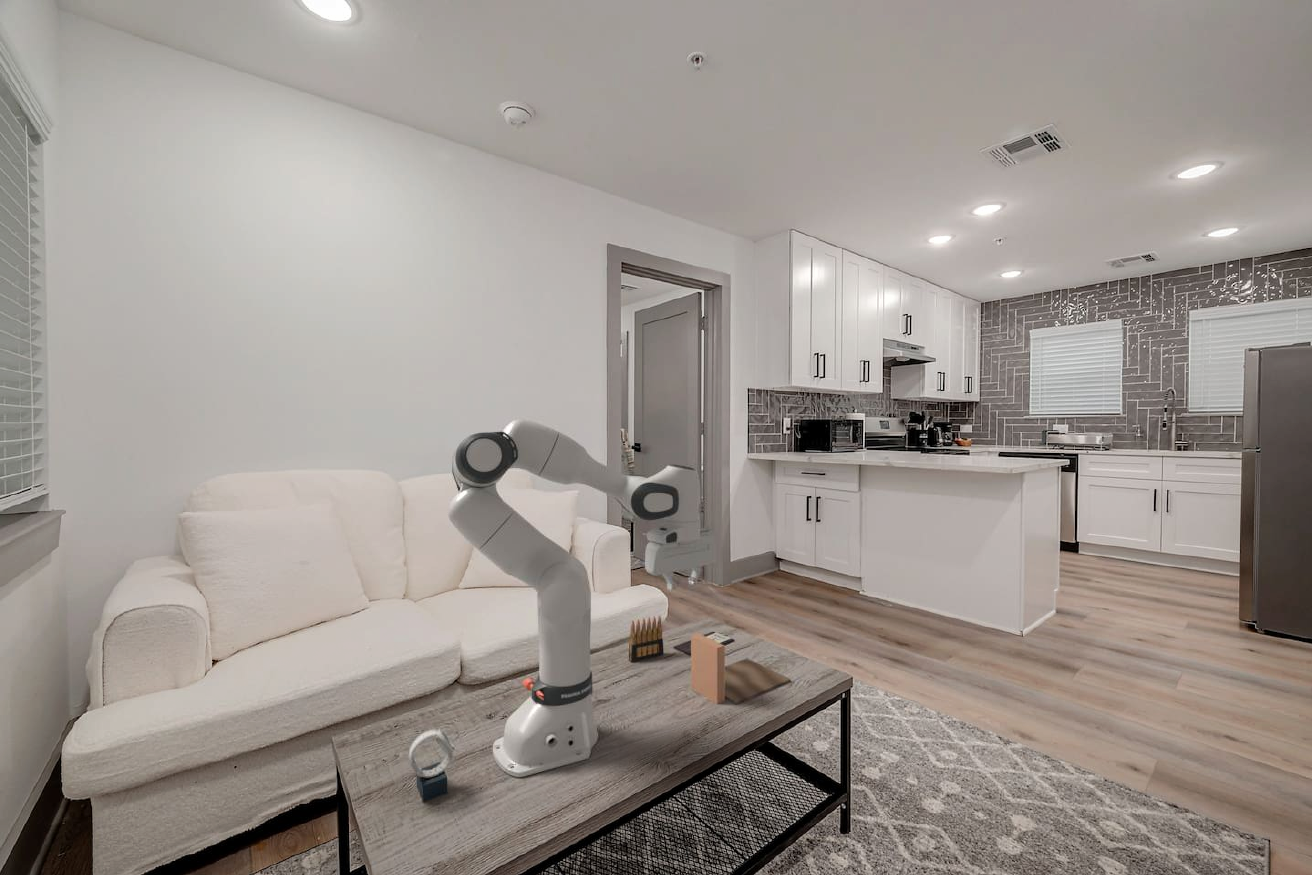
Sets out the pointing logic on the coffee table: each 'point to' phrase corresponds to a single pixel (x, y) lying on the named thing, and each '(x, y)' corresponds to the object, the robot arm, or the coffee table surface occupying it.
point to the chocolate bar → (713, 636)
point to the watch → (432, 767)
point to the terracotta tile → (708, 668)
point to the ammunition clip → (646, 640)
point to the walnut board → (749, 680)
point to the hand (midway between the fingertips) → (682, 586)
